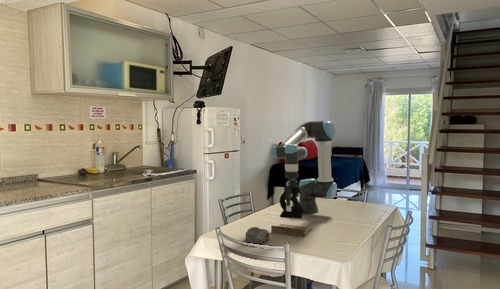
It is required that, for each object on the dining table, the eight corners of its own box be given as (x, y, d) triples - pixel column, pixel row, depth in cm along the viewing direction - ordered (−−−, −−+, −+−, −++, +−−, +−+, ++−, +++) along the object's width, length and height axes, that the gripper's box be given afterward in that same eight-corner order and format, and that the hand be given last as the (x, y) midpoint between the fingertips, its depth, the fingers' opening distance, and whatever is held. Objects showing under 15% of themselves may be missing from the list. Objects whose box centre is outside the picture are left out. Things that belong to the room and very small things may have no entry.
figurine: (278, 218, 213) (278, 183, 212) (281, 214, 222) (280, 181, 221) (303, 219, 210) (303, 184, 209) (304, 215, 219) (304, 182, 218)
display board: (281, 226, 228) (281, 219, 227) (312, 230, 218) (312, 222, 218) (271, 232, 214) (271, 225, 214) (304, 237, 205) (304, 229, 205)
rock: (262, 246, 192) (272, 238, 205) (262, 234, 191) (272, 227, 205) (240, 243, 196) (251, 235, 210) (240, 231, 196) (251, 224, 210)
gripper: (292, 168, 226) (292, 205, 227) (278, 172, 207) (278, 212, 208) (303, 169, 222) (303, 206, 223) (291, 173, 203) (291, 214, 204)
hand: (291, 209), depth 216 cm, fingers closed on figurine, 9 cm apart
